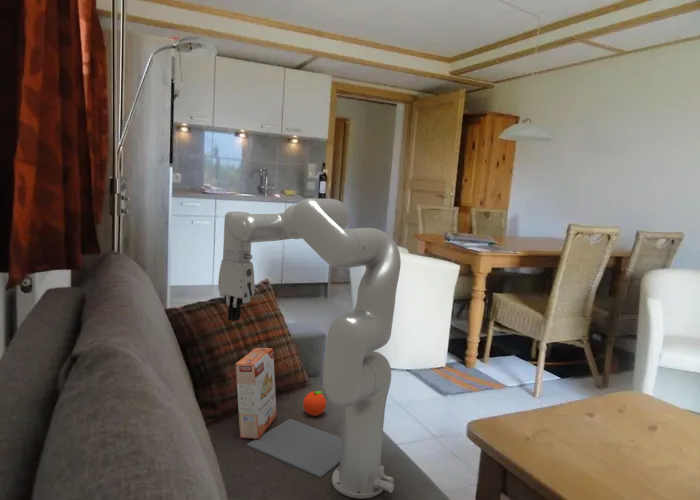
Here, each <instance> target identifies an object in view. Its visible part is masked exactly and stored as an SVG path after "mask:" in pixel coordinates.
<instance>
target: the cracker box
mask: <svg viewBox="0 0 700 500" xmlns="http://www.w3.org/2000/svg"><path fill="white" fill-rule="evenodd" d="M274 363H275V359H274V348H271V347H255V348H254V349H252V350H251V351H249V353H247V354H246V355H244V357H242V358H240V360H239V361H237V362H236V363H235V372H236V373H235V374H236V389H237V406H238V407H237V408H238V423H239V424H238V425H239V437H240V438H241V439H253V440H255V439H259V438H260V437H261V436H262V435H263V434H265V433H266V431H267V430H268V428H269V427H270V426H271V424H272V423H273V422H274V421H275V419H276V418H277V399H276V380H275V364H274Z"/></svg>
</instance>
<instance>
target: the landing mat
mask: <svg viewBox="0 0 700 500" xmlns="http://www.w3.org/2000/svg"><path fill="white" fill-rule="evenodd" d="M246 446H247V447H249V448H250V449H252V450H255V451H258V452H259V453H263V454H264V455H267V456H269V457H270V458H271V457H272V458H274V459H275V460H278V461H279V462H280V461H281V462H282V463H284V464H288V465H289V466H291V467H294V468H296V469H298V470H300V471H303V472H305V473H308V474H310V475H312V476H314V477H317V478H318V479H322V478H323V477H324V476H326V475H327V474H328V473H329V472H331V471H332V470H333V469H334V468H335V467H336V466H338V464H339V465H340V451H341V436H337V435H334V434H332V433H329V432H326V431H324V430H321V429H319V428H316V427H313V426H312V425H311V426H310V425H308V424H305V423H302V422H301V421H298V420H294V419H292V418H289V419H287V420H285V421H284V422H282V423H280V424H279V425H277V426H275V427H273V428H271V429H270V430H268V431H267V432H266V431H265V432H264V433H263V434H262V436H261V437H260V438H259V439H253V440H251V441H250V442H249V443H248V442H247V444H246Z"/></svg>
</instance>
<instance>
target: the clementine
mask: <svg viewBox="0 0 700 500" xmlns="http://www.w3.org/2000/svg"><path fill="white" fill-rule="evenodd" d="M324 394H325V392H324V391H321V390H319V391H317V390H316V391H310V392H309V393H307V394H306V395H305V397H304V398H303V402H302V403H303V404H302V405H303V406H302V408H303V409H304V411H305V412H306V413H307V414H308V415H310V416H319V415H321V414H322V413H323V412H325V409H326V405H327V398H326V396H324Z"/></svg>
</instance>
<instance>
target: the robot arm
mask: <svg viewBox="0 0 700 500" xmlns="http://www.w3.org/2000/svg"><path fill="white" fill-rule="evenodd" d="M350 218H351V215H350V211H349V208H348V207H347V205H346V204H344V203H343V202H342V201H341V200H338V199H335V198H313V197H310V198H309V197H308V198H305V199H303V200H300V201H299V202H297V204H292V205H290V206H288V207H287V208H286V209H285V210H284V212H280V213H279V212H278V213H249V212H246V211H228V212H226V213H225V215H224V223H223V224H224V225H223V249H222V259H221V262H220V266H219V272H218V273H219V274H218V283H217V288H218V291H219V297H221V298H223V299H224V300H225V302H226V306H227V307H228V309H227V311H228V312H227V320H228V321H230V322H235V321H239V320H240V319H241V307H243V304H246V303H250V302H251V301H252V300H251V297H253V296H254V295H255V270H254V264H253V262H252V261H251V260H253V255H252V253H251V252H252V243H263V242H277V241H284V240H285V241H286V240H292V239H294V240H303V241H304V242H305V243H306V244H307V245H308V246H310V248H311V249H312V250H313V251H314V252H315V253H316V254H317V255H318V256H319V257H320V258H321V260H323V261H324V262H325V263H327V264H328V265H330V266H331V267H333V268H335V269H340V270H341V269H342V270H346V269H350V268H351V269H352V268H357V267H365V271H364V273H363V275H362V276H361V279H360V281H359V285H358V289H357V296H356V297H357V298H356V303H355V307H354V309H353V310H352V311H349V312H346V313H343V314H341V315H339V316H338V317H336V318H335V319H334V320H333V322H332V323H331V325H330V327H329V329H328V332H327V335H326V341H325V342H326V343H325V349H324V350H325V352H324V359H323V362H324V363H323V370H322V372H323V373H322V388H323V392H324V395H325V398H326V399H327V400H328V401H329V402H330V403H331V404H332V405H334V407H337V408H343V411H342V425H341V436H340V438H341V451H340V463H339V467H337V468H336V469H335V470H334V471H333V472H332V475H331V485H333V487H334V489H335V490H336V491H337V492H338V493H340V494H342V495H344V496H346V497H348V498H353V499H358V500H359V499H363V500H364V499H371V498H373V497H377V496H378V495H380V494H381V493H382V492H383V491H385V492H388V493H393V491H394V488H395V484H394V480H395V479H394V477H391V476H389V475H387V474H385V466H384V465H382V464H381V460H382V448H383V446H382V445H383V438H384V437H383V436H384V435H383V433H384V425H385V412H386V411H385V410H386V403H387V399H388V395H389V391H390V387H391V381H392V367H391V365H390V364H391V363H390V362H389V360H388V359H387V357H386V356H385V355H384V354H382V353H380V352H378V351H377V350H379V349H381V348H383V347H384V346H386V345H387V344H388V342H389V341H390V339H391V335H392V331H393V330H392V329H393V322H394V313H395V307H396V305H395V304H396V297H397V290H398V289H397V288H398V284H399V283H398V282H399V277H400V271H401V263H402V262H401V254H400V251H399V247H398V245H397V243H396V242H395V240H394V238H392V237H391V235H389V234H388V233H387V232H386V231H384V230H381V229H378V228H373V227H356V228H347V227H348V226H349V223H350Z"/></svg>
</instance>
